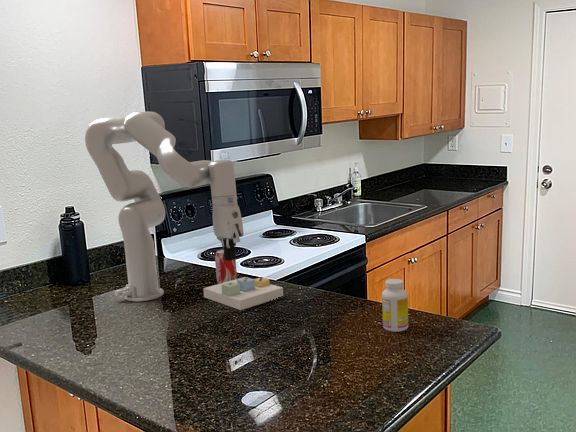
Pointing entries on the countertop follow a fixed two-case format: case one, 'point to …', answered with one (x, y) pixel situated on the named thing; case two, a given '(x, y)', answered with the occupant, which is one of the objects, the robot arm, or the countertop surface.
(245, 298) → the keypad board
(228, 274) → the soda can
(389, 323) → the supplement bottle
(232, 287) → the tile one pip
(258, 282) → the tile three pip
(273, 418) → the countertop surface
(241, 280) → the tile two pip
